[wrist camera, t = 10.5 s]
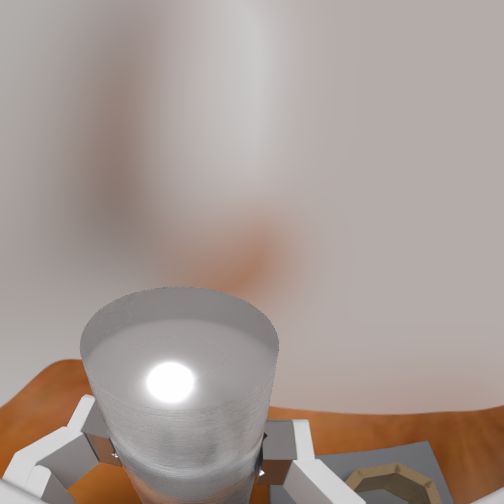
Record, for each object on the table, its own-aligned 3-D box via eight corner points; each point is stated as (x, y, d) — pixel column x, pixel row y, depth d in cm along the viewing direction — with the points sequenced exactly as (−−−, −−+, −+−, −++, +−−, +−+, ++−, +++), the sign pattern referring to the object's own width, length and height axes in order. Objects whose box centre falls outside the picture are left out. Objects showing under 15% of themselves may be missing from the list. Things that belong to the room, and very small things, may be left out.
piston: (247, 470, 12) (272, 293, 9) (246, 548, 8) (287, 418, 5) (156, 461, 12) (120, 280, 9) (140, 535, 8) (45, 382, 4)
